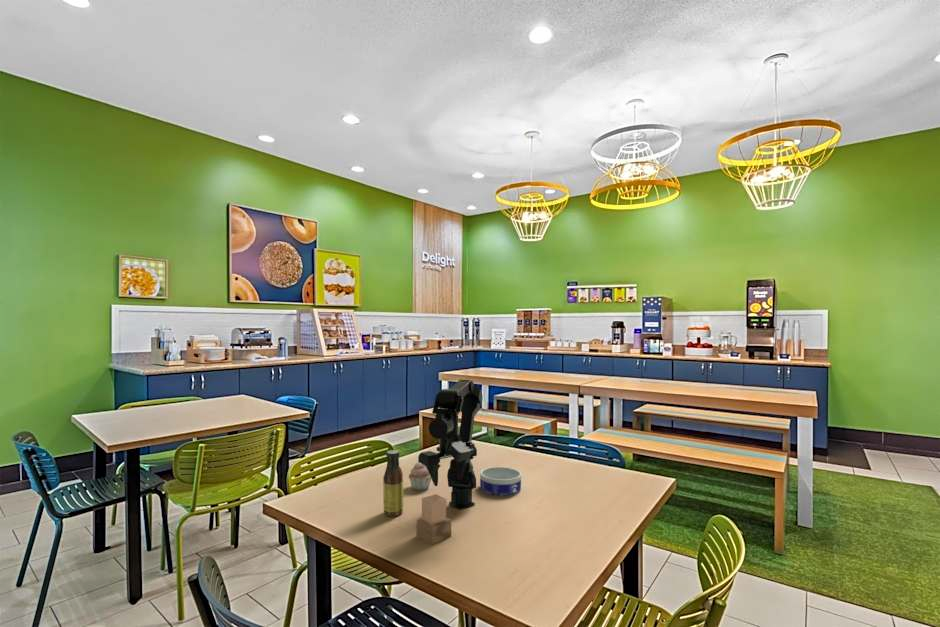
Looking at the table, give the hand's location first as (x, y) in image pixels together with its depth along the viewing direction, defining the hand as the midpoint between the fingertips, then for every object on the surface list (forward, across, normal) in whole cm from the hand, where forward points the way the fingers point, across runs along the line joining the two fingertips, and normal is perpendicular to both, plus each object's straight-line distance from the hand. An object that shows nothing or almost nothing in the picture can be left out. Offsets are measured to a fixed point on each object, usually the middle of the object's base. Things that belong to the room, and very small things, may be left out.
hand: (448, 482), depth 140 cm
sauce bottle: (+13, -9, +17) cm, 23 cm away
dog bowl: (+13, +34, +12) cm, 38 cm away
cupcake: (+13, +11, +31) cm, 35 cm away
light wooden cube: (+8, -8, -4) cm, 12 cm away
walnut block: (+13, -8, -4) cm, 15 cm away
